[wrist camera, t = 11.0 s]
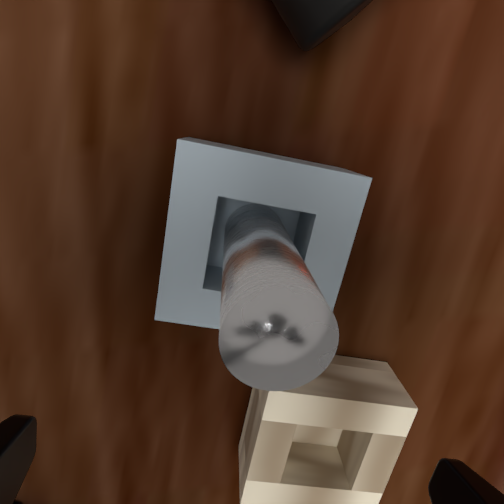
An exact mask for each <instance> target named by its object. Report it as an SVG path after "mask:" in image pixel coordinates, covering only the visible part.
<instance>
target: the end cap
mask: <svg viewBox="0 0 504 504" xmlns="http://www.w3.org/2000/svg"><path fill="white" fill-rule="evenodd" d="M371 1H372V0H272V2H273V4H274V5H275V7H276V9H277V11H278V12H279V14H280V16H281V17H282V19H283V21H284V22H285V24H286V26H287V28H288V29H289V31H290V33H291V34H292V36H293V38H294V39H295V41H296V43H297V45H298V46H299V48H300V49H301V50H303V51H309V50H311V49H312V48H314V47H315V46H317V45H318V44H320V43H321V42H323V41H324V40H325V39H327V38H328V37H329V36H331V35H332V34H333V33H335V32H336V31H337V30H339V29H340V28H341V27H343V26H344V25H345V24H347V23H348V22H349V21H350V20H352V19H353V18H354V17H355V16H356V15H357V14H358V13H359V12H360V11H361V10H363V9H364V8H365V7H366V6H367V5H368V4H369V3H370V2H371Z"/></svg>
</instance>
